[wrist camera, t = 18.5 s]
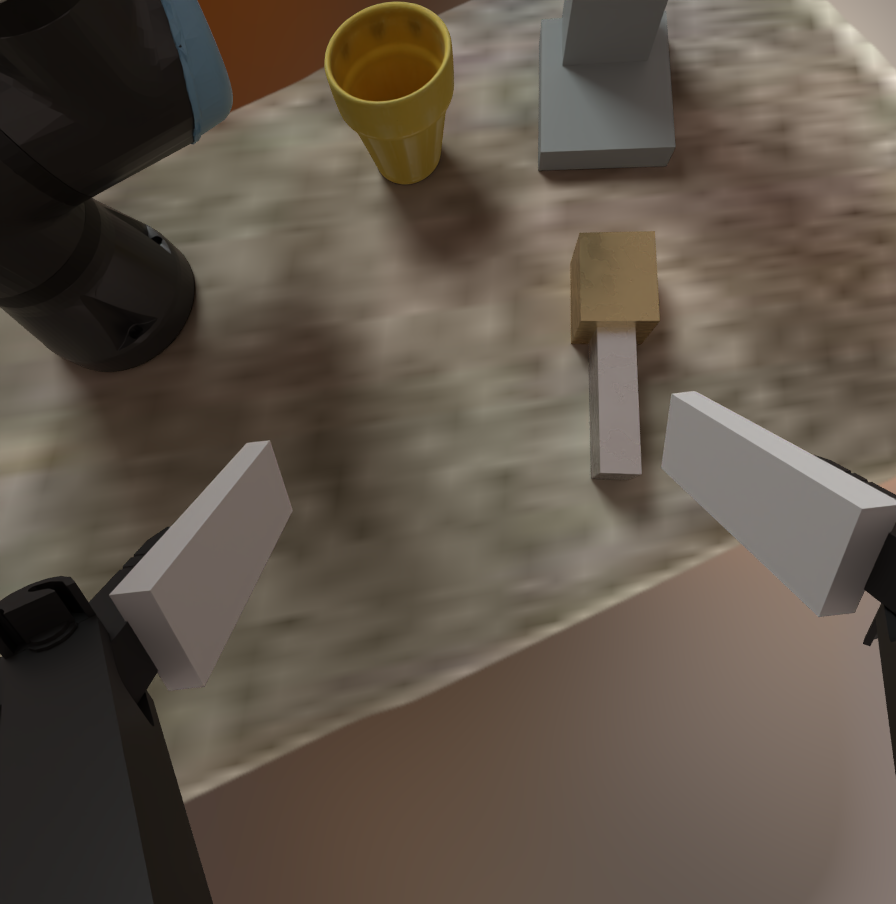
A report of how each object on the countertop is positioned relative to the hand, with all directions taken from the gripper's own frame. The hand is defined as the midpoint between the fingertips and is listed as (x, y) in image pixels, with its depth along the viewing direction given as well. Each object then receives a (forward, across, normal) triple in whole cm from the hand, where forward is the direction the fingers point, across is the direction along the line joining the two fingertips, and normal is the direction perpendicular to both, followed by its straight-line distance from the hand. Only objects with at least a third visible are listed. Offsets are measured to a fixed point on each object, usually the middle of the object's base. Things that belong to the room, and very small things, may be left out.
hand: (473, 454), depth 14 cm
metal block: (+23, +14, -5) cm, 27 cm away
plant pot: (+40, -2, +14) cm, 42 cm away
